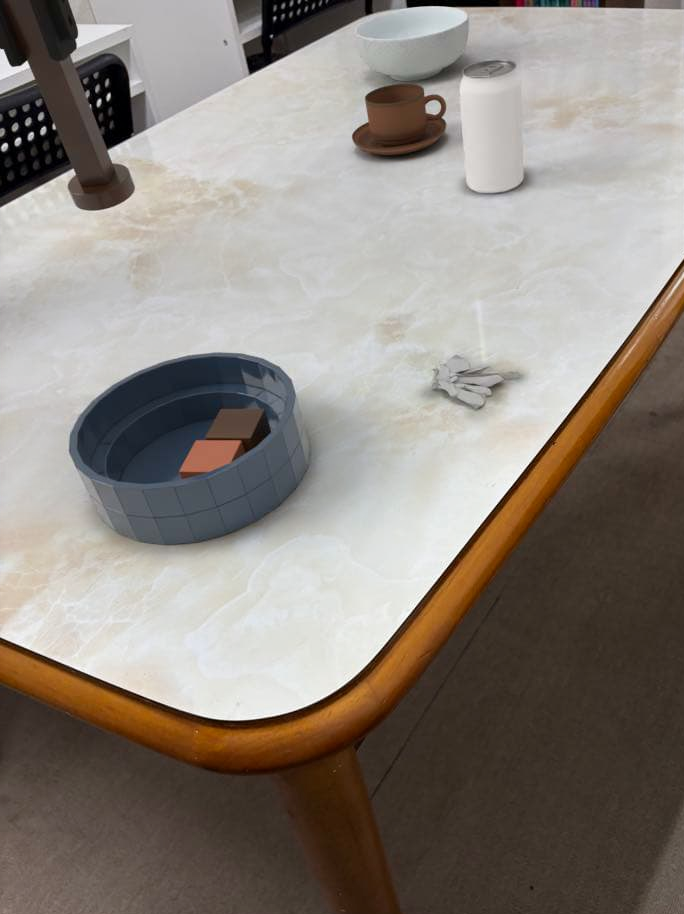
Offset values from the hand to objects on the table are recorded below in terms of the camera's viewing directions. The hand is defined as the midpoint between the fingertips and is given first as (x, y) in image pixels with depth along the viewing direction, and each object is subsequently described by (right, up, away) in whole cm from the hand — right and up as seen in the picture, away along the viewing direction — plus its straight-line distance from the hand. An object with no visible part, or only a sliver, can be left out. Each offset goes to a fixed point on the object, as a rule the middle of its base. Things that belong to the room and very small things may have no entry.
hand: (44, 55), depth 53 cm
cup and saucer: (+22, +20, +56) cm, 64 cm away
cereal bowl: (+24, +41, +78) cm, 91 cm away
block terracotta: (+9, -27, +8) cm, 30 cm away
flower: (+28, -18, +15) cm, 37 cm away
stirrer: (+1, -6, +8) cm, 9 cm away
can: (+33, +10, +44) cm, 55 cm away
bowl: (+7, -25, +11) cm, 29 cm away
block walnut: (+11, -24, +11) cm, 29 cm away
